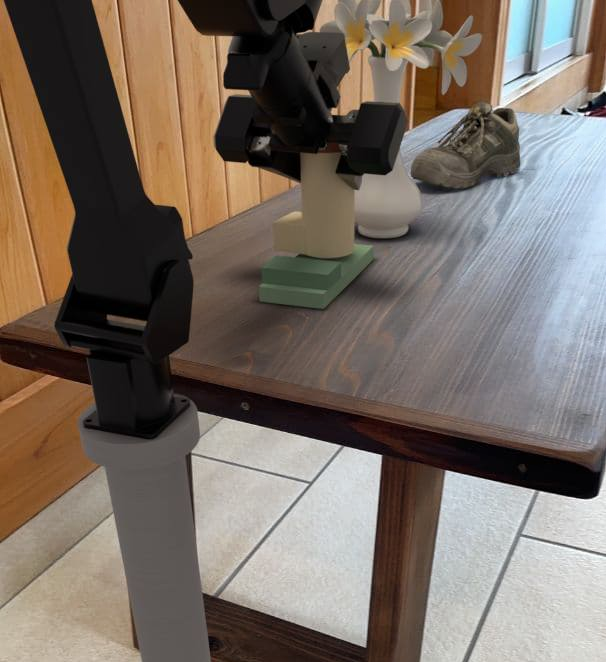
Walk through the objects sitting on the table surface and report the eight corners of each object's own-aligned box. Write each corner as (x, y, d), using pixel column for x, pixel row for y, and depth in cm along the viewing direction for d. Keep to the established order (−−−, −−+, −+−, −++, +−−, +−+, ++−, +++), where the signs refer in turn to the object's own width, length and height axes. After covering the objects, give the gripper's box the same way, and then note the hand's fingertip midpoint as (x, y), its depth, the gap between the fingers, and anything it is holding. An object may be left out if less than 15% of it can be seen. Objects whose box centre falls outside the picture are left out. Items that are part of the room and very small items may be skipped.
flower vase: (444, 255, 97) (462, -4, 82) (299, 238, 104) (292, -5, 89) (477, 224, 106) (499, -13, 92) (342, 210, 113) (342, -13, 99)
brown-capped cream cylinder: (363, 246, 93) (365, 126, 86) (340, 261, 89) (340, 137, 82) (297, 237, 97) (293, 121, 90) (271, 251, 93) (265, 131, 86)
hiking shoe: (385, 169, 122) (427, 92, 113) (475, 160, 134) (518, 90, 125) (424, 213, 119) (469, 137, 110) (511, 200, 132) (559, 131, 123)
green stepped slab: (324, 309, 85) (324, 277, 83) (258, 301, 87) (256, 270, 85) (374, 259, 96) (374, 231, 95) (315, 254, 99) (314, 225, 97)
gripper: (405, 0, 73) (439, 119, 87) (218, -1, 80) (278, 110, 94) (367, 117, 71) (408, 219, 86) (181, 106, 78) (247, 201, 93)
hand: (333, 183), depth 90 cm, fingers closed on brown-capped cream cylinder, 5 cm apart
